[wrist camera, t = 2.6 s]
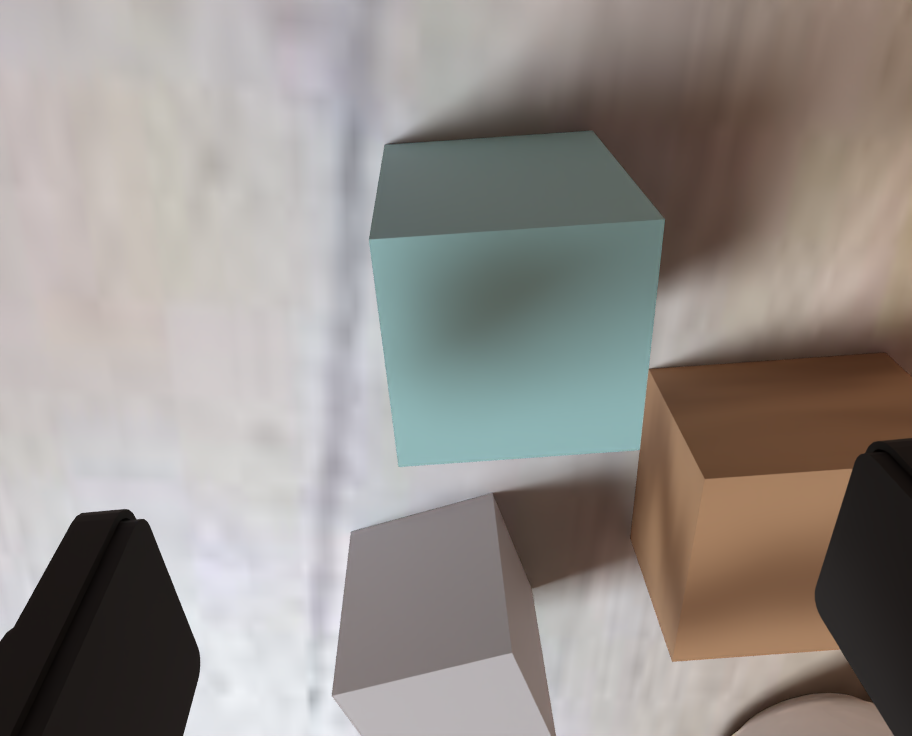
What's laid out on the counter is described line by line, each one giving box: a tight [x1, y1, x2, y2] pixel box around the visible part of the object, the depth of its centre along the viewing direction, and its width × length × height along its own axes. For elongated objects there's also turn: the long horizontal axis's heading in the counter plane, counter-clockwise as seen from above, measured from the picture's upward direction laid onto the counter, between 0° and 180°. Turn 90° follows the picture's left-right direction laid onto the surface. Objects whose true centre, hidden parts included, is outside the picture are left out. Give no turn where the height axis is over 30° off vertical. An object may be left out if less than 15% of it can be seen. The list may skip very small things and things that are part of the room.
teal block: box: [369, 131, 665, 467], centre depth 16 cm, size 5×5×6 cm
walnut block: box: [630, 352, 912, 662], centre depth 21 cm, size 7×7×5 cm
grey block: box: [332, 493, 556, 736], centre depth 22 cm, size 5×5×6 cm
